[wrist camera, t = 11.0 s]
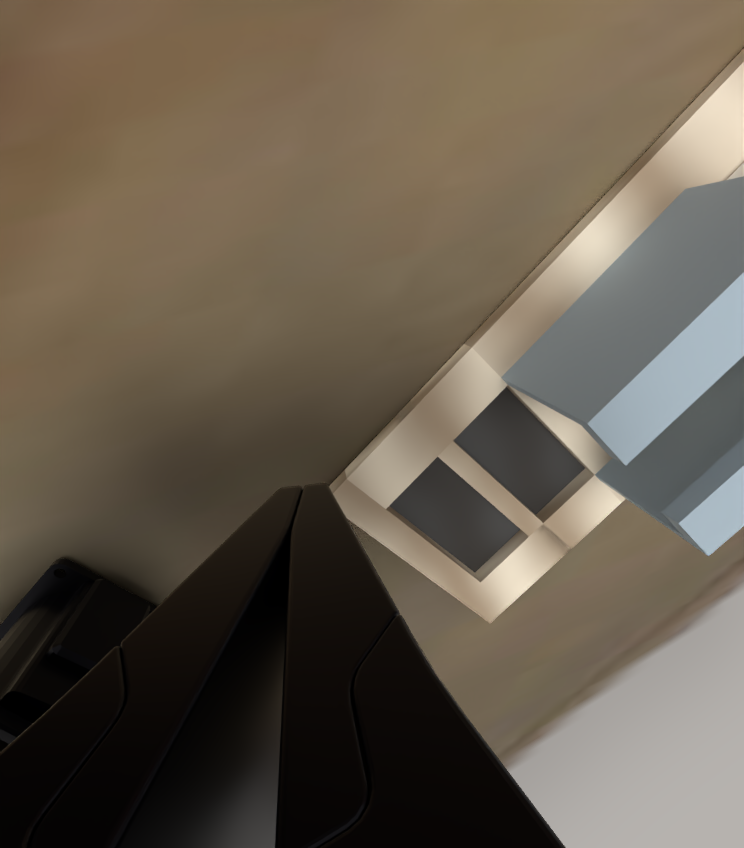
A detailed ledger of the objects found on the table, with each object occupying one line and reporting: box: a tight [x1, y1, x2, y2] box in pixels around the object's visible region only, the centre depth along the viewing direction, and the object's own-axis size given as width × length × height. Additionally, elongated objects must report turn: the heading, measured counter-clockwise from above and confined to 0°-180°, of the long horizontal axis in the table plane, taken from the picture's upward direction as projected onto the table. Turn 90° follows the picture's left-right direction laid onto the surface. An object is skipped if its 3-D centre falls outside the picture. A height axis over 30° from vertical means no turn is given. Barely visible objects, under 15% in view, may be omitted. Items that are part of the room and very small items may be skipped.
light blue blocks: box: [501, 176, 744, 556], centre depth 17 cm, size 10×8×6 cm
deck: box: [329, 48, 744, 623], centre depth 21 cm, size 27×12×1 cm, turn 137°
